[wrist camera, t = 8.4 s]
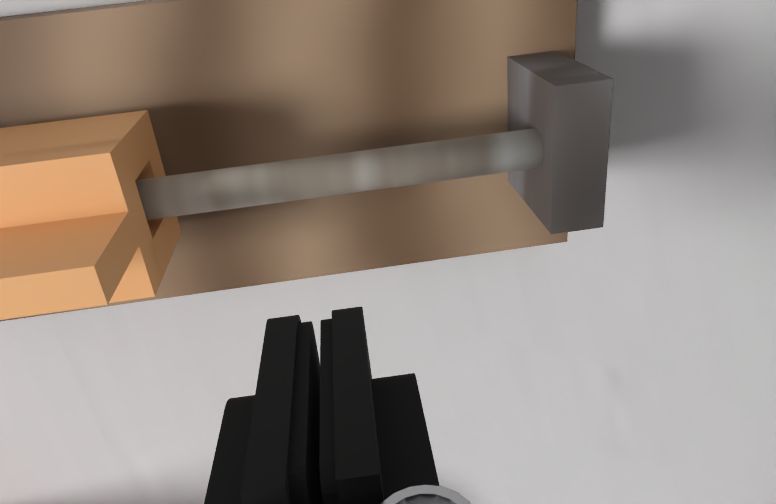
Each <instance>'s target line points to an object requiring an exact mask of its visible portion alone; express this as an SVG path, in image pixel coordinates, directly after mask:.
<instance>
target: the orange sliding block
mask: <svg viewBox="0 0 776 504" xmlns="http://www.w3.org/2000/svg"><path fill="white" fill-rule="evenodd" d="M162 176H166V175H165V171H164V168H163V164H162V161H161V157H160V153H159V150H158V146H157V142H156V139H155V135H154V131H153V128H152V124H151V121H150V117H149V113H148V110H143V111H135V112H127V113H119V114H111V115H103V116H95V117H86V118H78V119H70V120H62V121H54V122H46V123H38V124H30V125H21V126H13V127H5V128H0V320H4V319H11V318H18V317H25V316H32V315H39V314H46V313H53V312H61V311H68V310H75V309H82V308H89V307H96V306H103V305H108V304H109V303H114V302H121V301H128V300H135V299H142V298H149V297H155V296H156V293H157V291H158V288H159V286H160V283H161V281H162V279H163V276H164V274H165V271H166V269H167V266H168V264H169V262H170V259H171V257H172V254H173V252H174V249H175V247H176V245H177V242H178V240H179V237H180V235H181V229H180V226H179V222H178V219H177V216H175V217H167V218H160V219H152V220H147V219H146V215H145V212H144V209H143V205H142V202H141V199H140V195H139V192H138V189H137V185H136V182H135V180H139V179H146V178H154V177H162Z"/></svg>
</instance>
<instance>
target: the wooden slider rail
mask: <svg viewBox="0 0 776 504" xmlns="http://www.w3.org/2000/svg"><path fill="white" fill-rule="evenodd" d="M576 13H577V0H148V1H139V2H130V3H121V4H113V5H104V6H95V7H86V8H77V9H68V10H59V11H51V12H42V13H33V14H24V15H15V16H6V17H0V128H5V127H13V126H21V125H30V124H38V123H46V122H54V121H62V120H70V119H78V118H86V117H95V116H103V115H111V114H119V113H127V112H135V111H143V110H148V113H149V117H150V121H151V124H152V128H153V131H154V135H155V139H156V142H157V146H158V150H159V153H160V157H161V161H162V164H163V168H164V171H165V175H166V176H162V177H154V178H146V179H139V180H135V182H136V185H137V189H138V192H139V195H140V199H141V202H142V205H143V209H144V212H145V215H146V219H147V220H152V219H160V218H167V217H175V216H177V219H178V222H179V226H180V229H181V235H180V237H179V240H178V242H177V245H176V247H175V249H174V252H173V254H172V257H171V259H170V262H169V264H168V266H167V269H166V271H165V274H164V276H163V279H162V281H161V283H160V286H159V288H158V291H157V293H156V296H155V297H149V298H142V299H135V300H128V301H121V302H114V303H109V304H108V305H103V306H96V307H89V308H82V309H75V310H68V311H61V312H53V313H46V314H39V315H32V316H25V317H18V318H11V319H4V320H0V321H5V320H12V319H19V318H26V317H34V316H41V315H48V314H55V313H62V312H69V311H76V310H83V309H90V308H98V307H105V306H112V305H119V304H126V303H133V302H140V301H147V300H154V299H162V298H169V297H176V296H183V295H190V294H197V293H204V292H211V291H218V290H225V289H233V288H240V287H247V286H254V285H261V284H268V283H275V282H282V281H289V280H297V279H304V278H311V277H318V276H325V275H332V274H339V273H346V272H353V271H360V270H368V269H375V268H382V267H389V266H396V265H403V264H410V263H417V262H424V261H432V260H439V259H446V258H453V257H460V256H467V255H474V254H481V253H488V252H496V251H503V250H510V249H517V248H524V247H531V246H538V245H545V244H552V243H559V242H567V234H568V232H571V231H578V230H585V229H592V228H600V227H603V221H604V206H605V192H606V178H607V163H608V149H609V135H610V120H611V106H612V91H613V79H612V78H610V77H608V76H606V75H604V74H602V73H600V72H598V71H596V70H594V69H591V68H589V67H587V66H585V65H583V64H581V63H579V62H577V61H575V38H576Z"/></svg>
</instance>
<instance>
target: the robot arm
mask: <svg viewBox="0 0 776 504" xmlns="http://www.w3.org/2000/svg"><path fill="white" fill-rule="evenodd" d="M204 504H471V503H470V501H468V500H467V499H466V498H464V497H463V496H462V495H460V494H459V493H458V492H456V491H453V490H450V489H448V488H445V487H442V486H439V482H438V477H437V473H436V468H435V464H434V459H433V454H432V450H431V445H430V441H429V436H428V431H427V427H426V422H425V417H424V413H423V408H422V404H421V399H420V394H419V390H418V385H417V380H416V376H415V374H414V373H413V374H405V375H398V376H391V377H383V378H376V379H372V376H371V368H370V361H369V353H368V346H367V339H366V331H365V324H364V317H363V310H362V307H355V308H348V309H340V310H333V311H332V319H326V320H321V345H320V362H319V357H318V351H317V345H316V340H315V334H314V329H313V324H312V322H304V323H301V320H300V317H299V315H295V316H287V317H280V318H272V319H268V320H267V323H266V330H265V336H264V343H263V349H262V356H261V362H260V368H259V375H258V381H257V388H256V394H255V395H252V396H245V397H238V398H231V399H229V400H228V401H227V403H226V406H225V410H224V415H223V419H222V424H221V429H220V433H219V438H218V442H217V447H216V452H215V456H214V461H213V465H212V470H211V475H210V479H209V484H208V488H207V493H206V498H205V502H204Z"/></svg>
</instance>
